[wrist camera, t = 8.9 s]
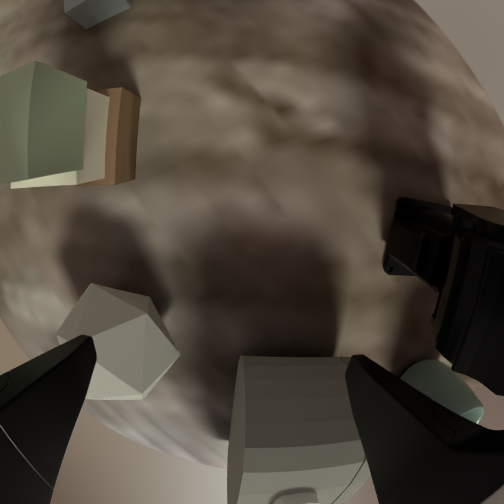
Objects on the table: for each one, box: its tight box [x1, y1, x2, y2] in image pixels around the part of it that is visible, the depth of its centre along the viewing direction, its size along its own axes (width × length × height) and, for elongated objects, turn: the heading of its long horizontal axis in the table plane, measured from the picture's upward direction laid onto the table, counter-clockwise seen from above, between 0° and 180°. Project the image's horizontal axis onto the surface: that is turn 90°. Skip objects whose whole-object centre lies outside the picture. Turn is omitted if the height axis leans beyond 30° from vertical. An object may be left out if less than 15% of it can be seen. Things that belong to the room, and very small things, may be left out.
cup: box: [400, 359, 484, 424], centre depth 23 cm, size 8×8×10 cm
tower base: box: [40, 87, 141, 187], centre depth 16 cm, size 6×6×4 cm
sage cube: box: [0, 61, 87, 185], centre depth 9 cm, size 4×4×4 cm
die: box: [56, 283, 181, 400], centre depth 19 cm, size 8×9×10 cm
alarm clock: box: [227, 355, 371, 504], centre depth 21 cm, size 21×10×13 cm, turn 174°
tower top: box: [11, 88, 110, 189], centre depth 13 cm, size 5×5×4 cm
